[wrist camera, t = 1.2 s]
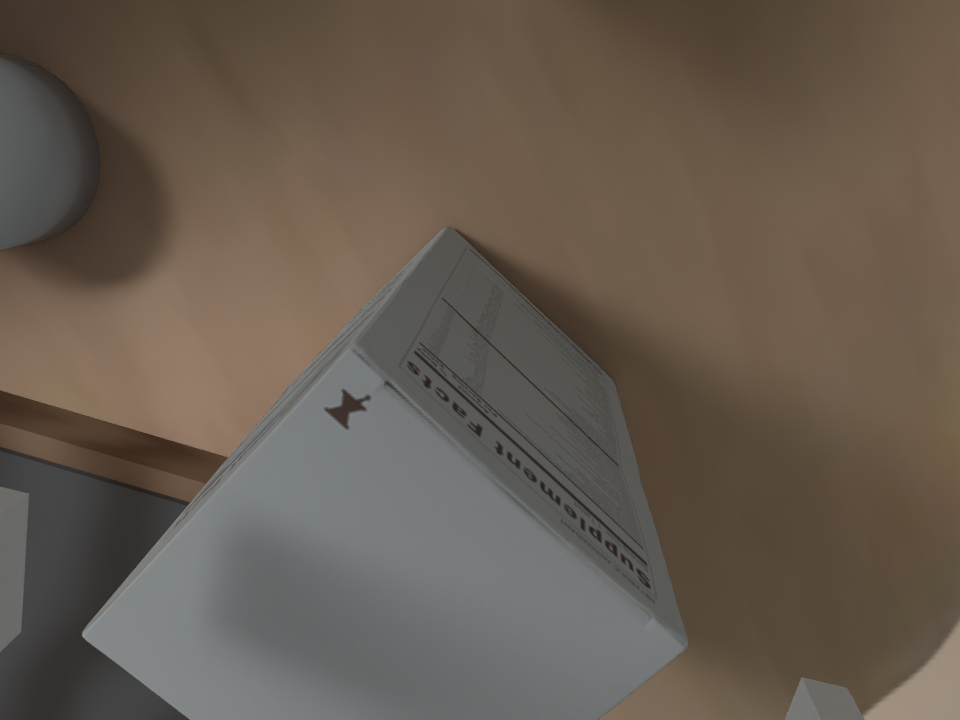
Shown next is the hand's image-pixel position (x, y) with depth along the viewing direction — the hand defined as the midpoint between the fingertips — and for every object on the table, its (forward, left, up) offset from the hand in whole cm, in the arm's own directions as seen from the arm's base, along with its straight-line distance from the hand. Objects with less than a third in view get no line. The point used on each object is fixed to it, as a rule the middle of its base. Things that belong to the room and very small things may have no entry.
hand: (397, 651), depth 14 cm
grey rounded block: (-20, +2, -19) cm, 28 cm away
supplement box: (-1, -2, -19) cm, 19 cm away
